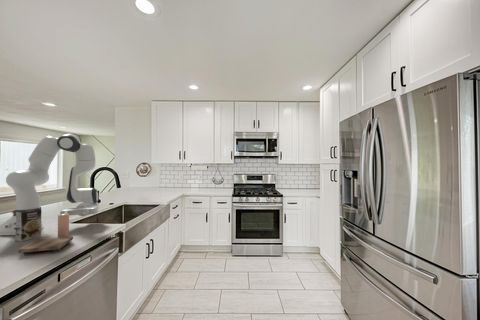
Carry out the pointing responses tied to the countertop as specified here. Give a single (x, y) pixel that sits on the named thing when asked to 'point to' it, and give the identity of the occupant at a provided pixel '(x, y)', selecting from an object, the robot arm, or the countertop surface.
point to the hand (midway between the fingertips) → (74, 213)
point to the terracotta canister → (63, 225)
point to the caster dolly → (45, 245)
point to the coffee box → (28, 224)
